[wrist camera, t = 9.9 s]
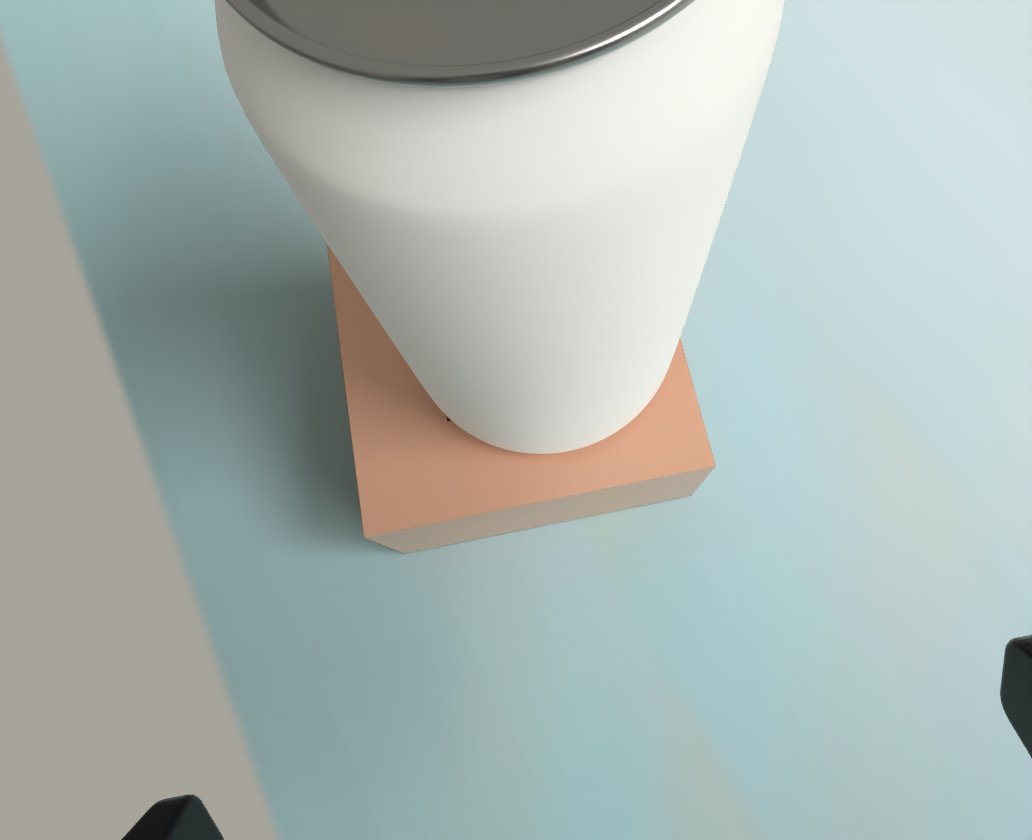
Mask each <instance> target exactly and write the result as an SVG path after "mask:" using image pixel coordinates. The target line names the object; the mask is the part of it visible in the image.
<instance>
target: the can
mask: <svg viewBox="0 0 1032 840" xmlns="http://www.w3.org/2000/svg"><path fill="white" fill-rule="evenodd" d="M784 3H785V0H215V10H216V21H217V30H218V36H219V41H220V47H221V52H222V57H223V60H224V64H225V68H226V71H227V74H228V77H229V79H230V82H231V84H232V87H233V89H234V91H235V93H236V95H237V98H238V100H239V102H240V104H241V106H242V108H243V110H244V112H245V114H246V116H247V118H248V120H249V122H250V123H251V125H252V127H253V128H254V130H255V132H256V133H257V135H258V137H259V138H260V140H261V142H262V143H263V145H264V147H265V148H266V150H267V151H268V153H269V155H270V156H271V158H272V160H273V161H274V163H275V164H276V166H277V167H278V169H279V170H280V172H281V174H282V175H283V177H284V178H285V180H286V181H287V183H288V184H289V186H290V187H291V189H292V191H293V192H294V194H295V195H296V197H297V198H298V200H299V201H300V203H301V204H302V206H303V208H304V209H305V211H306V212H307V214H308V215H309V217H310V218H311V220H312V221H313V223H314V224H315V226H316V227H317V229H318V230H319V232H320V233H321V235H322V236H323V238H324V239H325V241H326V242H327V244H328V245H329V247H330V249H331V250H332V252H333V253H334V255H335V256H336V258H337V259H338V261H339V262H340V264H341V265H342V267H343V268H344V270H345V271H346V273H347V274H348V276H349V277H350V279H351V280H352V282H353V283H354V285H355V286H356V288H357V289H358V291H359V292H360V294H361V295H362V297H363V298H364V300H365V301H366V303H367V304H368V306H369V307H370V309H371V310H372V312H373V313H374V315H375V316H376V318H377V319H378V321H379V322H380V324H381V325H382V327H383V328H384V330H385V331H386V333H387V334H388V336H389V337H390V339H391V340H392V342H393V343H394V345H395V346H396V348H397V349H398V350H399V352H400V353H401V355H402V356H403V358H404V359H405V361H406V362H407V364H408V365H409V367H410V368H411V370H412V371H413V373H414V374H415V376H416V377H417V378H418V380H419V381H420V383H421V384H422V386H423V387H424V388H425V390H426V391H427V393H428V394H429V396H430V397H431V398H432V399H433V401H434V402H435V403H436V405H437V406H438V407H439V408H440V409H441V411H442V412H443V413H444V414H445V415H446V416H447V417H448V418H449V419H450V420H452V421H453V422H454V423H455V424H456V425H457V426H459V427H460V428H461V429H463V430H464V431H466V432H467V433H469V434H470V435H472V436H474V437H475V438H477V439H479V440H481V441H483V442H486V443H488V444H490V445H493V446H496V447H499V448H502V449H506V450H510V451H515V452H521V453H529V454H552V453H561V452H567V451H572V450H576V449H579V448H583V447H586V446H589V445H591V444H594V443H596V442H599V441H601V440H603V439H605V438H607V437H609V436H610V435H612V434H614V433H615V432H617V431H618V430H620V429H621V428H623V427H624V426H626V425H627V424H628V423H629V422H631V421H632V420H633V419H634V418H635V417H636V416H637V415H638V414H639V413H640V412H641V411H642V410H643V409H644V408H645V407H646V405H647V404H648V403H649V402H650V400H651V399H652V398H653V396H654V395H655V393H656V392H657V390H658V388H659V387H660V385H661V383H662V381H663V380H664V378H665V375H666V373H667V371H668V368H669V366H670V363H671V361H672V358H673V356H674V353H675V350H676V347H677V344H678V342H679V339H680V336H681V333H682V330H683V327H684V324H685V321H686V318H687V315H688V313H689V310H690V307H691V304H692V301H693V298H694V295H695V292H696V289H697V286H698V283H699V280H700V277H701V274H702V271H703V268H704V265H705V262H706V259H707V256H708V253H709V250H710V247H711V244H712V241H713V238H714V235H715V232H716V230H717V227H718V224H719V221H720V218H721V215H722V212H723V209H724V206H725V203H726V200H727V196H728V193H729V190H730V187H731V184H732V181H733V178H734V175H735V172H736V169H737V166H738V163H739V160H740V157H741V154H742V151H743V148H744V145H745V142H746V139H747V136H748V133H749V130H750V126H751V123H752V120H753V117H754V114H755V111H756V108H757V105H758V101H759V98H760V95H761V92H762V89H763V86H764V83H765V79H766V76H767V72H768V69H769V65H770V62H771V58H772V55H773V52H774V48H775V45H776V41H777V37H778V33H779V29H780V24H781V19H782V14H783V8H784Z"/></svg>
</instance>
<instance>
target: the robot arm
mask: <svg viewBox="0 0 1032 840" xmlns="http://www.w3.org/2000/svg"><path fill="white" fill-rule="evenodd" d="M1000 696H1001V702H1002V706H1003V709H1004V711H1005V713H1006V715H1007V717H1008V719H1009V721H1010V723H1011V724H1012V726H1013V728H1014V729H1015V731H1016V733H1017V734H1018V736H1019V738H1020V739H1021V741H1022V743H1023V744H1024V746H1025V748H1026V749H1027V751H1028V753H1029V754H1030V756H1031V758H1032V635H1029V636H1023V637H1018V638H1014V639H1012V640H1010V641H1009V643H1008V644H1007V645H1006V648H1005V655H1004V664H1003V672H1002V681H1001V689H1000ZM122 840H224V838H223V836H222V834H221V833H220V831H219V830H218V828H217V826H216V825H215V823H214V821H213V819H212V818H211V816H210V814H209V813H208V811H207V809H206V808H205V806H204V804H203V803H202V801H201V800H200V799H199V798H198V797H196V796H195V795H184V796H178V797H173V798H168V799H164V800H161V801H159V802H157V803H155V804H154V805H153V806H152V807H151V808H150V809H149V810H148V811H147V812H146V813H145V814H144V815H143V817H142V818H141V819H140V820H139V821H138V822H137V823H136V824H135V825H134V827H132V829H131V830H130V831H129V832H128V833H127V834H126V835H125V836H124V837H123V838H122Z"/></svg>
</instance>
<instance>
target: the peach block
mask: <svg viewBox="0 0 1032 840" xmlns="http://www.w3.org/2000/svg"><path fill="white" fill-rule="evenodd" d="M327 248H328V256H329V263H330V271H331V279H332V287H333V295H334V303H335V311H336V318H337V326H338V334H339V342H340V350H341V358H342V366H343V374H344V381H345V389H346V397H347V405H348V413H349V421H350V429H351V436H352V444H353V452H354V460H355V468H356V476H357V484H358V492H359V499H360V507H361V515H362V523H363V531H364V538H367V539H369V540H371V541H374V542H376V543H379V544H381V545H384V546H386V547H389V548H391V549H394V550H396V551H399V552H401V553H403V554H407V553H411V552H416V551H421V550H426V549H431V548H436V547H441V546H446V545H451V544H456V543H461V542H466V541H471V540H476V539H481V538H486V537H491V536H495V535H500V534H505V533H510V532H515V531H520V530H525V529H530V528H535V527H540V526H545V525H550V524H555V523H560V522H565V521H570V520H575V519H579V518H584V517H589V516H594V515H599V514H604V513H609V512H614V511H619V510H624V509H629V508H634V507H639V506H644V505H649V504H654V503H659V502H663V501H668V500H673V499H678V498H683V497H688V496H691V495H692V494H693V493H694V492H695V490H696V489H697V488H698V487H699V486H700V484H701V483H702V482H703V481H704V480H705V478H706V477H707V476H708V475H709V473H710V472H711V471H712V470H713V469H714V467H715V462H714V458H713V455H712V451H711V448H710V444H709V440H708V437H707V433H706V429H705V426H704V422H703V419H702V415H701V411H700V408H699V404H698V400H697V397H696V393H695V390H694V386H693V382H692V379H691V375H690V372H689V368H688V364H687V361H686V357H685V353H684V350H683V346H682V343H681V339H679V342H678V344H677V347H676V350H675V353H674V356H673V358H672V361H671V363H670V366H669V368H668V371H667V373H666V375H665V378H664V380H663V381H662V383H661V385H660V387H659V388H658V390H657V392H656V393H655V395H654V396H653V398H652V399H651V400H650V402H649V403H648V404H647V405H646V407H645V408H644V409H643V410H642V411H641V412H640V413H639V414H638V415H637V416H636V417H635V418H634V419H633V420H632V421H631V422H629V423H628V424H627V425H626V426H624V427H623V428H621V429H620V430H618V431H617V432H615V433H614V434H612V435H610V436H609V437H607V438H605V439H603V440H601V441H599V442H596V443H594V444H591V445H589V446H586V447H583V448H579V449H576V450H572V451H567V452H561V453H552V454H529V453H521V452H515V451H510V450H506V449H502V448H499V447H496V446H493V445H490V444H488V443H486V442H483V441H481V440H479V439H477V438H475V437H474V436H472V435H470V434H469V433H467V432H466V431H464V430H463V429H461V428H460V427H459V426H457V425H456V424H455V423H454V422H453V421H452V420H450V419H449V418H448V417H447V416H446V415H445V414H444V413H443V412H442V411H441V409H440V408H439V407H438V406H437V405H436V403H435V402H434V401H433V399H432V398H431V397H430V396H429V394H428V393H427V391H426V390H425V388H424V387H423V386H422V384H421V383H420V381H419V380H418V378H417V377H416V376H415V374H414V373H413V371H412V370H411V368H410V367H409V365H408V364H407V362H406V361H405V359H404V358H403V356H402V355H401V353H400V352H399V350H398V349H397V348H396V346H395V345H394V343H393V342H392V340H391V339H390V337H389V336H388V334H387V333H386V331H385V330H384V328H383V327H382V325H381V324H380V322H379V321H378V319H377V318H376V316H375V315H374V313H373V312H372V310H371V309H370V307H369V306H368V304H367V303H366V301H365V300H364V298H363V297H362V295H361V294H360V292H359V291H358V289H357V288H356V286H355V285H354V283H353V282H352V280H351V279H350V277H349V276H348V274H347V273H346V271H345V270H344V268H343V267H342V265H341V264H340V262H339V261H338V259H337V258H336V256H335V255H334V253H333V252H332V250H331V249H330V247H329V245H328V244H327Z"/></svg>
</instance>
